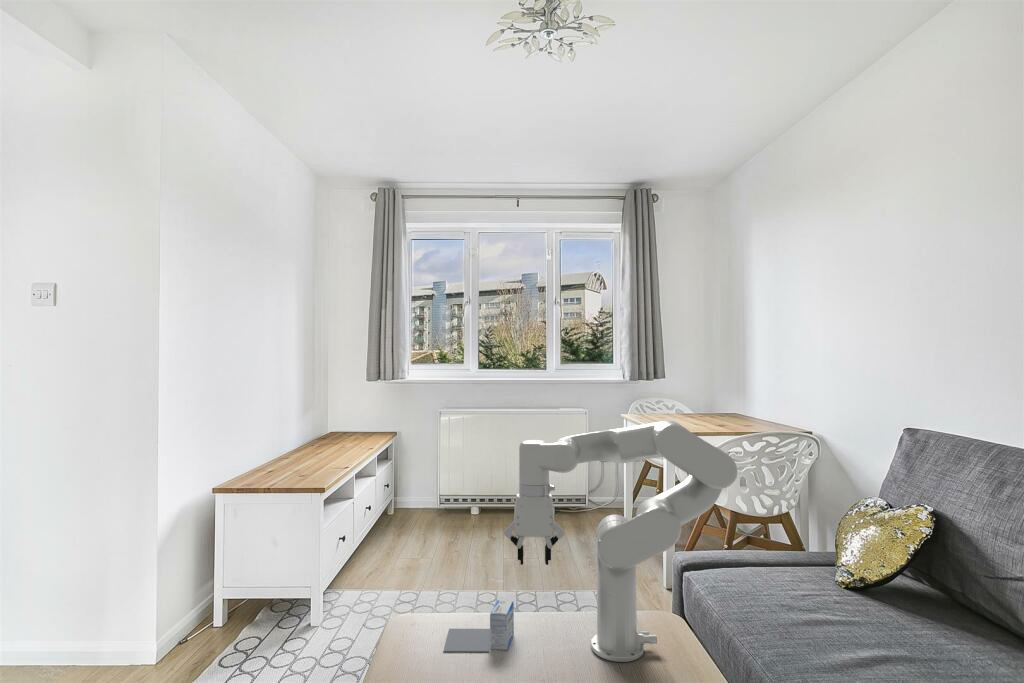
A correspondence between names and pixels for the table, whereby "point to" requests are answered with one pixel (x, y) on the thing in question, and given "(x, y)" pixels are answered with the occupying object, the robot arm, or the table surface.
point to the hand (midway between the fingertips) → (534, 562)
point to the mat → (467, 640)
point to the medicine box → (502, 625)
